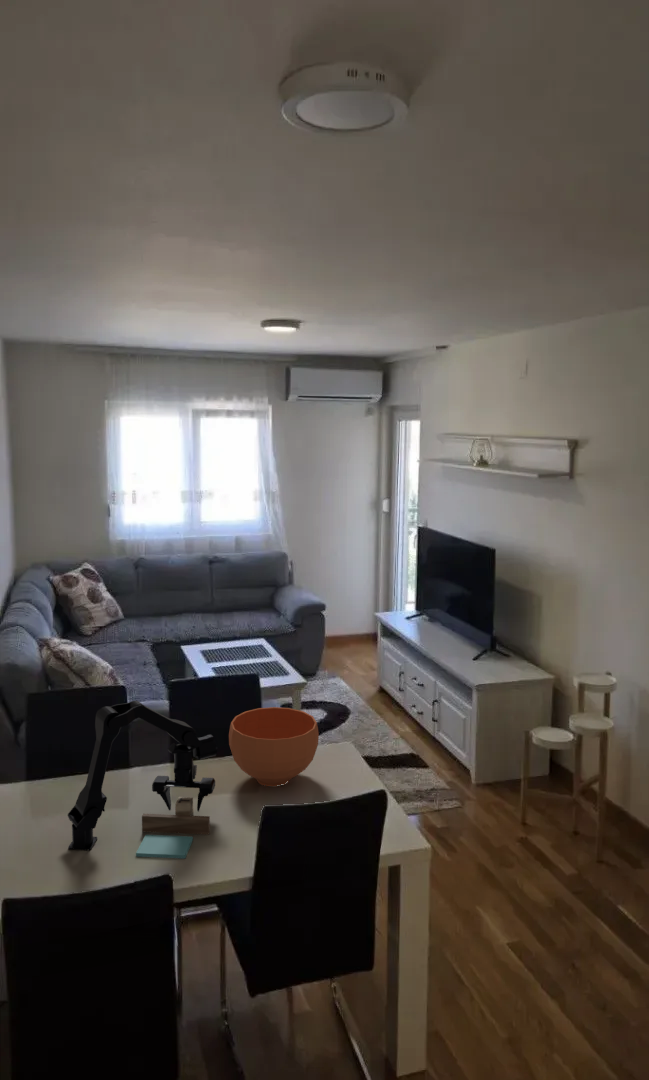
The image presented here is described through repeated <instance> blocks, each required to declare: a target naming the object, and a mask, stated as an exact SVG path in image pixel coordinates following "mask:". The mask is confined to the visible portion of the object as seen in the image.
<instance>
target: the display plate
mask: <svg viewBox="0 0 649 1080" xmlns="http://www.w3.org/2000/svg"><path fill="white" fill-rule="evenodd" d="M193 840H194V836H189V835H188V836H186V835H185V836H184V835H183V836H182V835H167V834H166V835H162V834H161V835H160V834H145V836H144V837H143V839H142V841H141V843H140V844H139V847H138V849H137V850H136V852H135V857H138V858H139V857H141V858H142V857H143V858H163V859H165V858H166V859H167V858H168V859H187V855H188V853H189V850H190V848H191V845H192V844H193Z"/></svg>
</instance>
